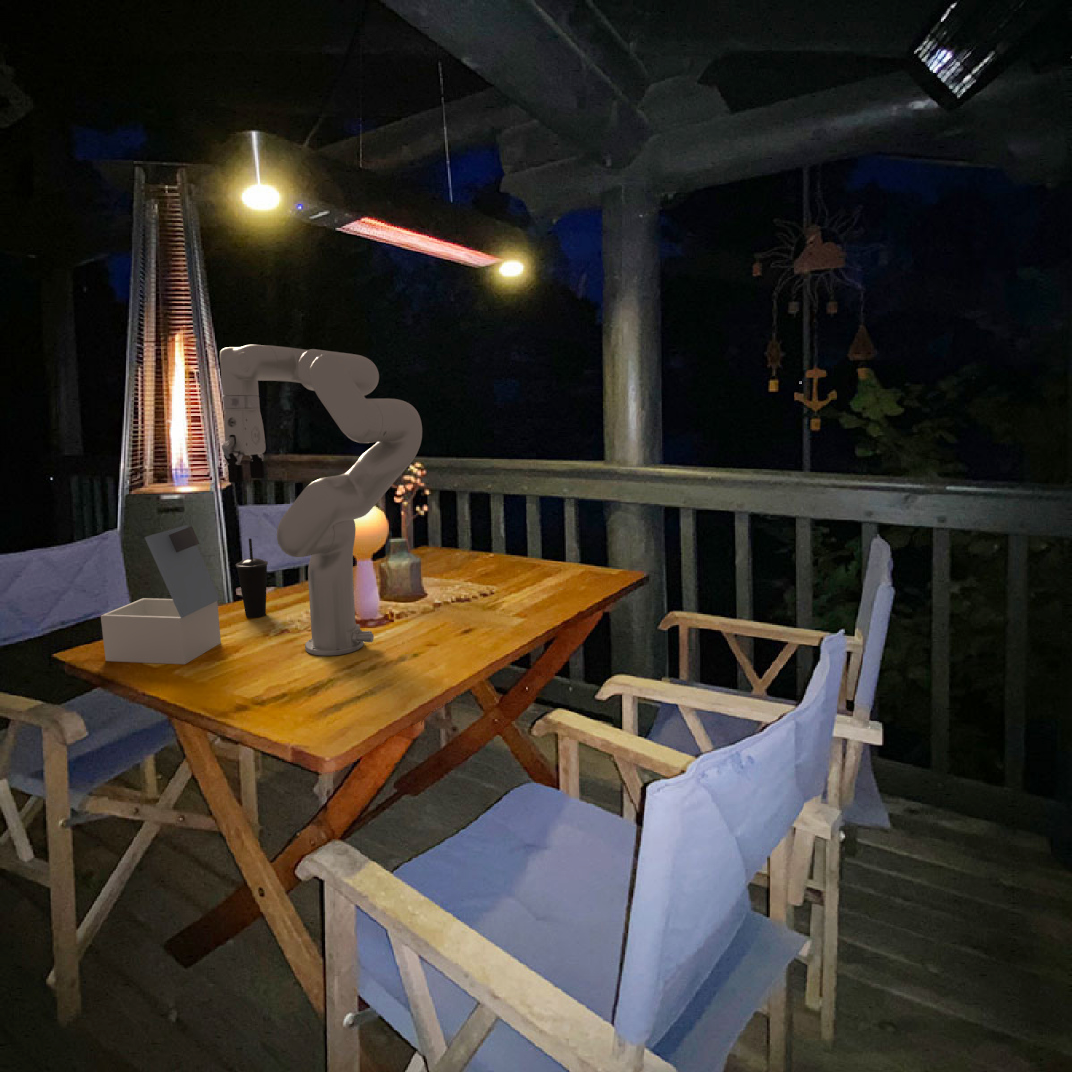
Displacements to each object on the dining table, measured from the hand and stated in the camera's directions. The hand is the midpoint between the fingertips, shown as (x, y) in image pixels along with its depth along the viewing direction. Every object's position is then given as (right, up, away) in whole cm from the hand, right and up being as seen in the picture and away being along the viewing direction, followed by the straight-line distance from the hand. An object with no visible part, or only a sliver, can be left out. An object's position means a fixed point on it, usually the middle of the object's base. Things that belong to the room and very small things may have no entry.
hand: (247, 480), depth 171 cm
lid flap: (-10, -20, -10) cm, 25 cm away
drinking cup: (-6, -33, +21) cm, 40 cm away
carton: (-16, -38, -6) cm, 42 cm away
